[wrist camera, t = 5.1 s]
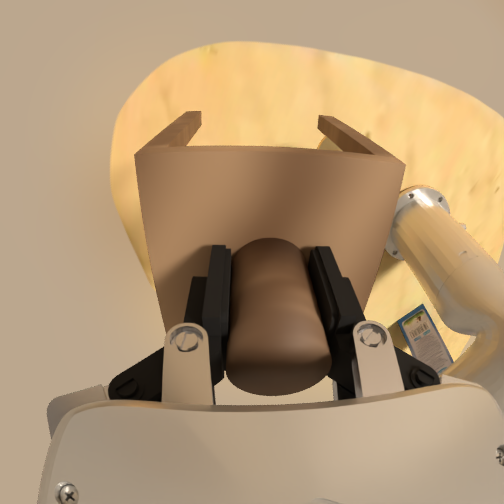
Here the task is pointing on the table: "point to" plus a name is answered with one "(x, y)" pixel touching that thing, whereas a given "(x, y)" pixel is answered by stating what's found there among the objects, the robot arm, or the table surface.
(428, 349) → the milk carton
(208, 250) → the wooden stool
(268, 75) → the table surface
